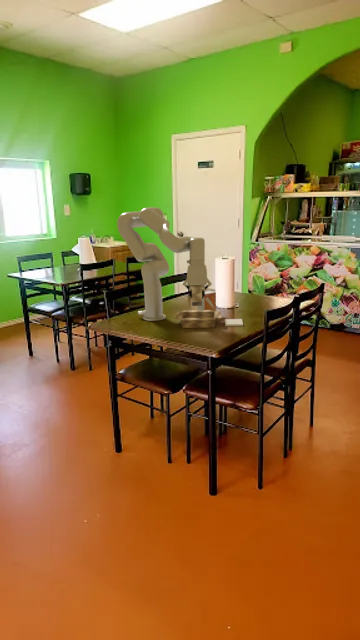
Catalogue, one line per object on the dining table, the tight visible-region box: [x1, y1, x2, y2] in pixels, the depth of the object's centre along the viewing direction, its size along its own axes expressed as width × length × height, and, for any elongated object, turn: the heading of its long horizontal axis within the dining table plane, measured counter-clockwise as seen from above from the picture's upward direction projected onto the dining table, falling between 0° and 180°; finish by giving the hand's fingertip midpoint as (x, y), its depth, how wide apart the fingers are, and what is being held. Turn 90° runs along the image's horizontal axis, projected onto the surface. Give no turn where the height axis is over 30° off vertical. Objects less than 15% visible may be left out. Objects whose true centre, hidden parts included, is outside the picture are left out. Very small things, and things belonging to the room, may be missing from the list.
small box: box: [197, 290, 217, 311], centre depth 242 cm, size 8×6×13 cm
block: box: [191, 286, 202, 307], centre depth 223 cm, size 5×6×10 cm
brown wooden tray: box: [174, 309, 222, 329], centre depth 226 cm, size 23×19×5 cm
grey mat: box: [224, 318, 244, 327], centre depth 225 cm, size 9×10×1 cm
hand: (197, 297), depth 223 cm, fingers closed on block, 5 cm apart
